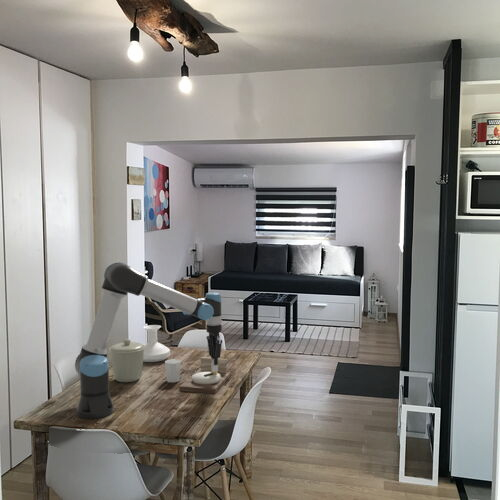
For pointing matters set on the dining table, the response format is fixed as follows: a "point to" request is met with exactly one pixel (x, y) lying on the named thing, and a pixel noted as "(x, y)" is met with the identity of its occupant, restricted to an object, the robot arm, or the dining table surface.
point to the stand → (206, 367)
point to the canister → (127, 360)
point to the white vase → (154, 346)
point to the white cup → (173, 370)
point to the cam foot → (206, 377)
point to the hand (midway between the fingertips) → (214, 370)
